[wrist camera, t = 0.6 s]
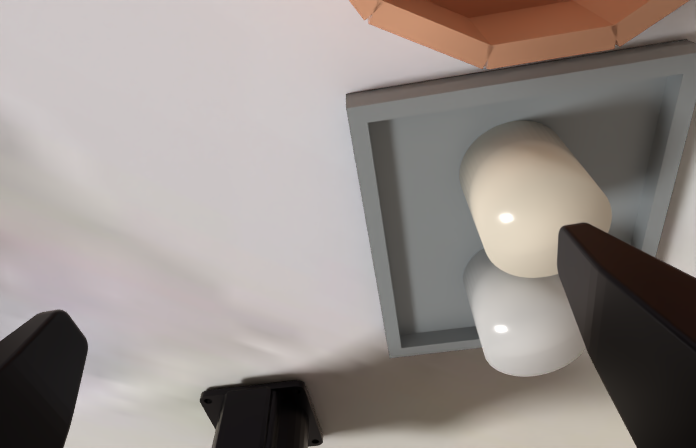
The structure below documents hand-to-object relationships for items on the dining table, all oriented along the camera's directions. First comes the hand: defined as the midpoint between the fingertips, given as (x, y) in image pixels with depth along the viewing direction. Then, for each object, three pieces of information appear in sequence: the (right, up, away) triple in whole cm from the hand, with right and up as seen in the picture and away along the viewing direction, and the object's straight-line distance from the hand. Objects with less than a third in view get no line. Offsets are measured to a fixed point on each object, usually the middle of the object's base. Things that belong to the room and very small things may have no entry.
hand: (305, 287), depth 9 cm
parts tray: (+8, +1, +14) cm, 16 cm away
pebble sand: (+8, +3, +12) cm, 15 cm away
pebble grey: (+9, -1, +16) cm, 18 cm away
